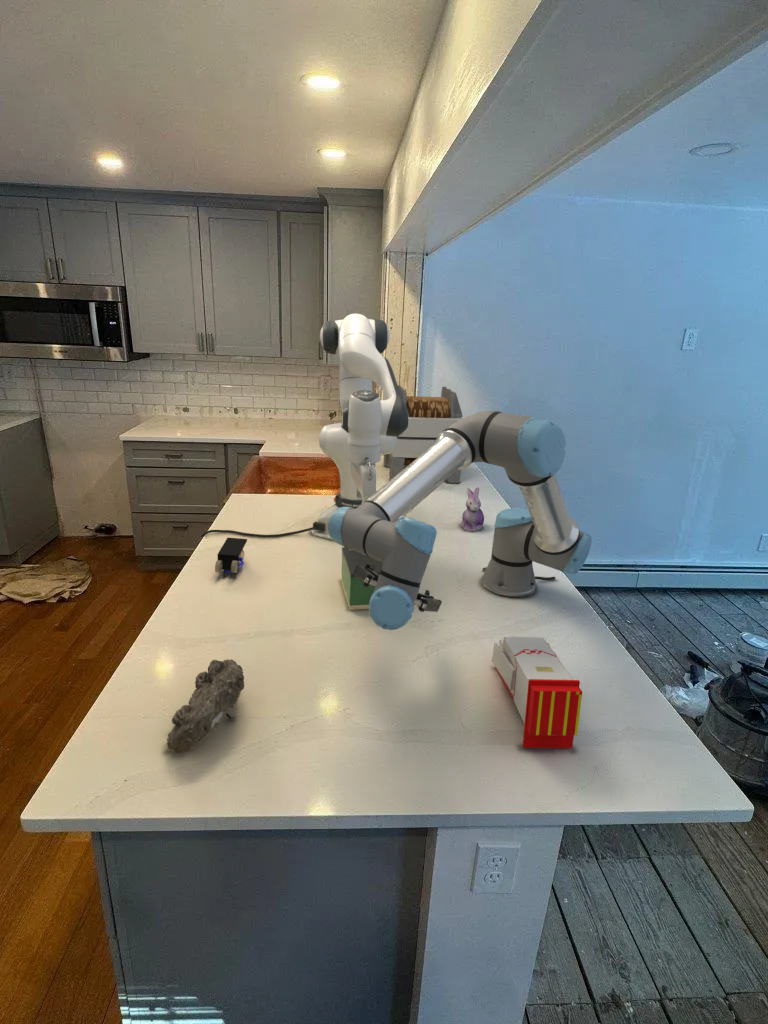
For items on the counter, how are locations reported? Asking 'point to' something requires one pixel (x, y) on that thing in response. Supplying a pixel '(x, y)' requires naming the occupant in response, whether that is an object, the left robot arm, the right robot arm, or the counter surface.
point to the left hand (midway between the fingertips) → (362, 502)
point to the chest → (355, 590)
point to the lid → (359, 561)
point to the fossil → (206, 705)
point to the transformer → (423, 429)
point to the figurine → (473, 512)
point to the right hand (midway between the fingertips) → (398, 583)
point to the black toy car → (230, 556)
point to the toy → (539, 691)
